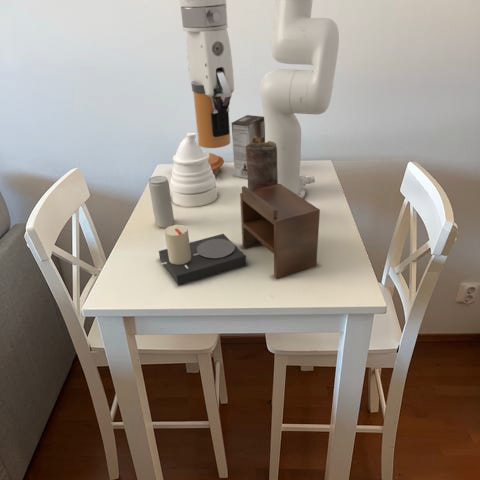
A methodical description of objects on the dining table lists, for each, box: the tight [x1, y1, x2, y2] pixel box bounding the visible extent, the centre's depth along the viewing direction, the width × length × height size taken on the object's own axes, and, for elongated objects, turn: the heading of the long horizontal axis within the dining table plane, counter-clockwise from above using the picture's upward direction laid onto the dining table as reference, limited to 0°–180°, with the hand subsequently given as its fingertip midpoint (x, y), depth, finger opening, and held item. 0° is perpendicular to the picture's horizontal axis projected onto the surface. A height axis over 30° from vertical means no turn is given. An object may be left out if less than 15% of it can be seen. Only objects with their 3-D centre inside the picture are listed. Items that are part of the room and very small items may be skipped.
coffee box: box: [231, 114, 265, 179], centre depth 141 cm, size 9×6×16 cm
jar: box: [190, 81, 231, 149], centre depth 86 cm, size 7×7×11 cm
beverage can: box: [148, 175, 175, 229], centre depth 117 cm, size 5×5×12 cm
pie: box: [208, 152, 225, 177], centre depth 146 cm, size 15×16×5 cm
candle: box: [246, 141, 278, 190], centre depth 112 cm, size 8×7×20 cm
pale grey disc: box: [197, 239, 236, 259], centre depth 104 cm, size 9×9×1 cm
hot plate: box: [158, 233, 247, 287], centre depth 103 cm, size 18×12×3 cm
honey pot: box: [169, 131, 218, 208], centre depth 128 cm, size 13×13×18 cm
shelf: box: [239, 184, 321, 280], centre depth 101 cm, size 10×16×15 cm, turn 26°
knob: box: [164, 224, 191, 265], centre depth 99 cm, size 5×5×7 cm
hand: (213, 129), depth 88 cm, fingers closed on jar, 6 cm apart
